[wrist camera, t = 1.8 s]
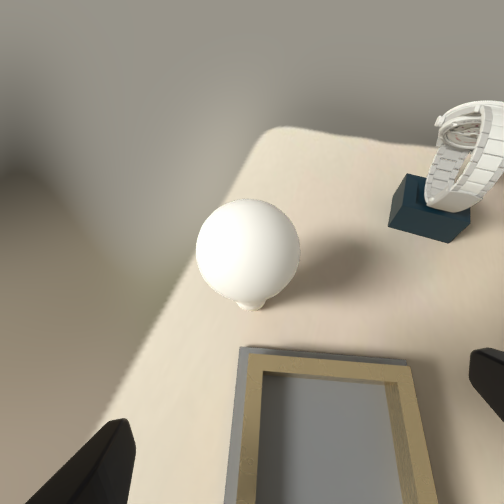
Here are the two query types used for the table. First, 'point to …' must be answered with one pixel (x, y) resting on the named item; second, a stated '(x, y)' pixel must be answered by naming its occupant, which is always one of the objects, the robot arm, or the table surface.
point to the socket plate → (326, 431)
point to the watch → (453, 173)
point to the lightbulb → (248, 252)
